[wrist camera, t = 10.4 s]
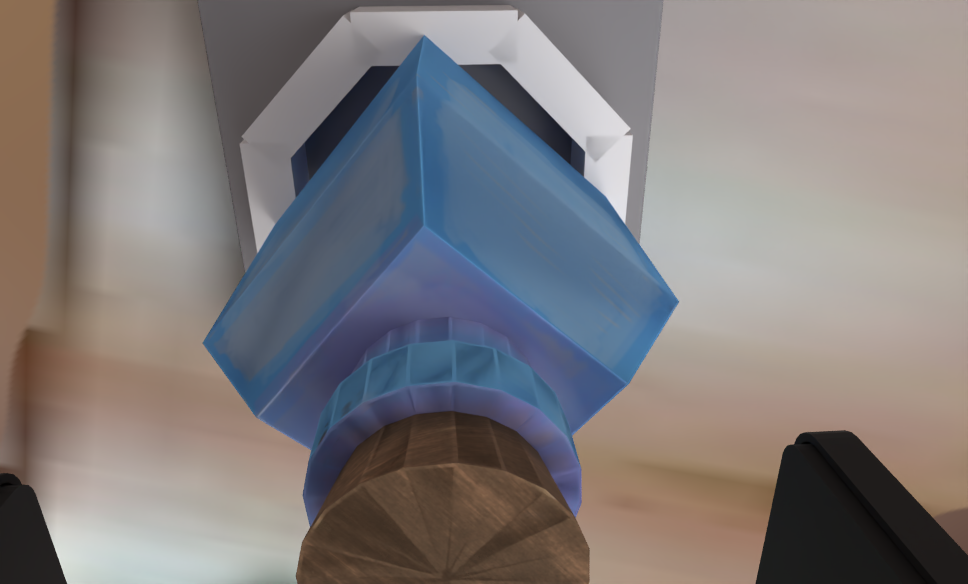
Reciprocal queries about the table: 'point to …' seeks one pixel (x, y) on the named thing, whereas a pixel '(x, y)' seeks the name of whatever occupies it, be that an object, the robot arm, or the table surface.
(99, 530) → the table surface
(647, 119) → the camera body block
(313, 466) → the perfume bottle
